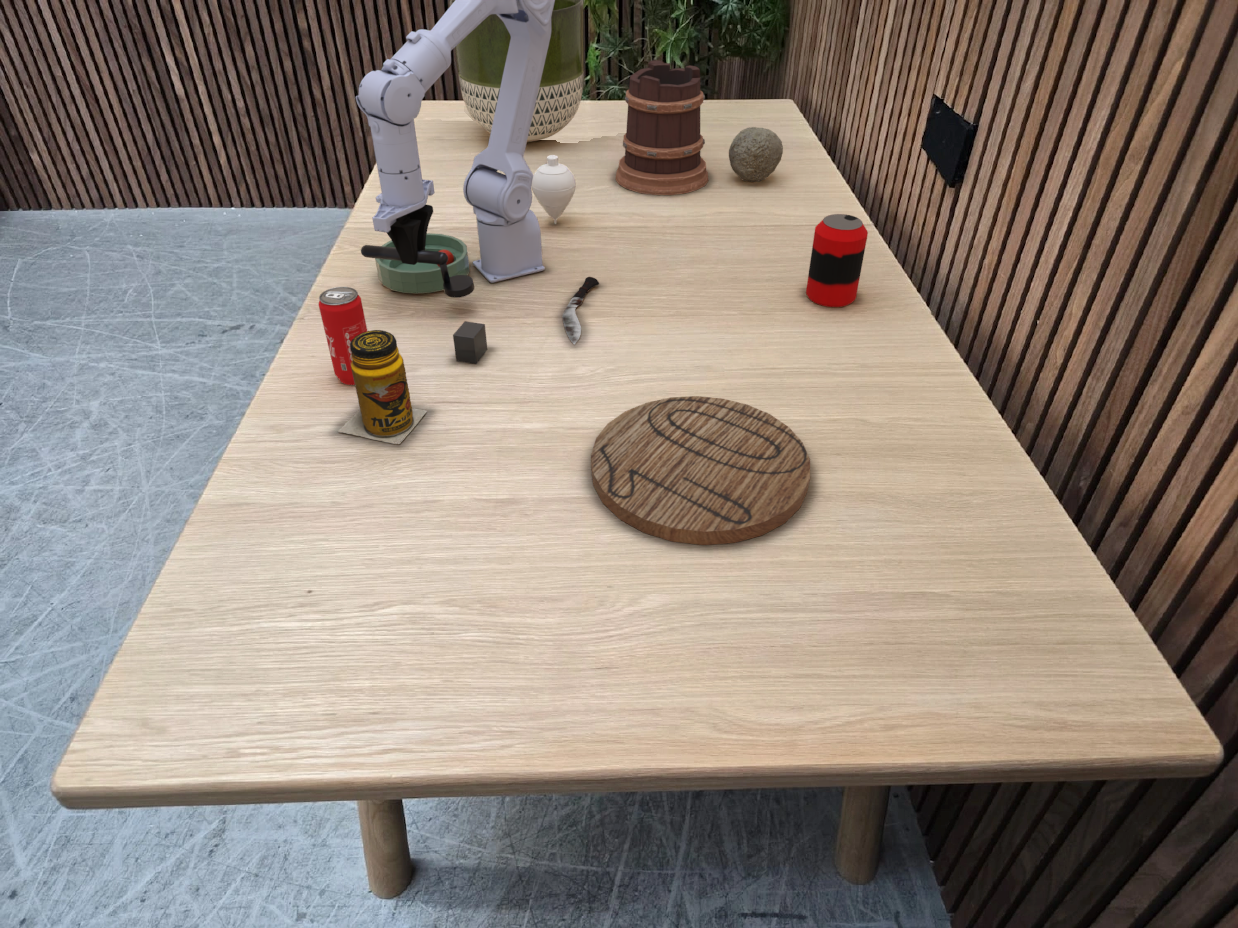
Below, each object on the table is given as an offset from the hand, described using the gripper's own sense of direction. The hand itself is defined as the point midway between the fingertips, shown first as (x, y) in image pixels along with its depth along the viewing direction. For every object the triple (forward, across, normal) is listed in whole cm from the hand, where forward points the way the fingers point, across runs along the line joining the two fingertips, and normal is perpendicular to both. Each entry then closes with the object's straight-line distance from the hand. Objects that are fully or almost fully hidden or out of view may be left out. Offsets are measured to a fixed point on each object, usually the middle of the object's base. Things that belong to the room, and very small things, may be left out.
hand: (413, 259), depth 129 cm
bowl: (+8, -9, -4) cm, 13 cm away
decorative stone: (+8, -65, +40) cm, 76 cm away
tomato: (+6, -12, -1) cm, 13 cm away
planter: (+8, -77, -13) cm, 79 cm away
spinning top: (+8, -34, +10) cm, 36 cm away
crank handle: (+4, 0, 0) cm, 4 cm away
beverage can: (+8, +20, 0) cm, 22 cm away
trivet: (+8, +27, +49) cm, 56 cm away
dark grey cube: (+8, +11, +13) cm, 19 cm away
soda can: (+8, -20, +59) cm, 63 cm away
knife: (+8, -5, +24) cm, 25 cm away
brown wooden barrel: (+8, -63, +21) cm, 67 cm away
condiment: (+8, +29, +9) cm, 31 cm away
